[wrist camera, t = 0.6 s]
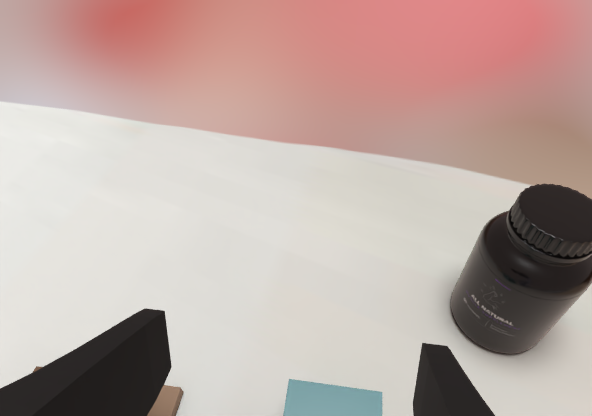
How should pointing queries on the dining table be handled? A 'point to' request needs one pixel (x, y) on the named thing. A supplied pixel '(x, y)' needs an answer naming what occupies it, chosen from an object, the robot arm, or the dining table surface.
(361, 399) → the teal foam cube
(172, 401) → the base board
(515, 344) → the supplement bottle
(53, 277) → the dining table surface
